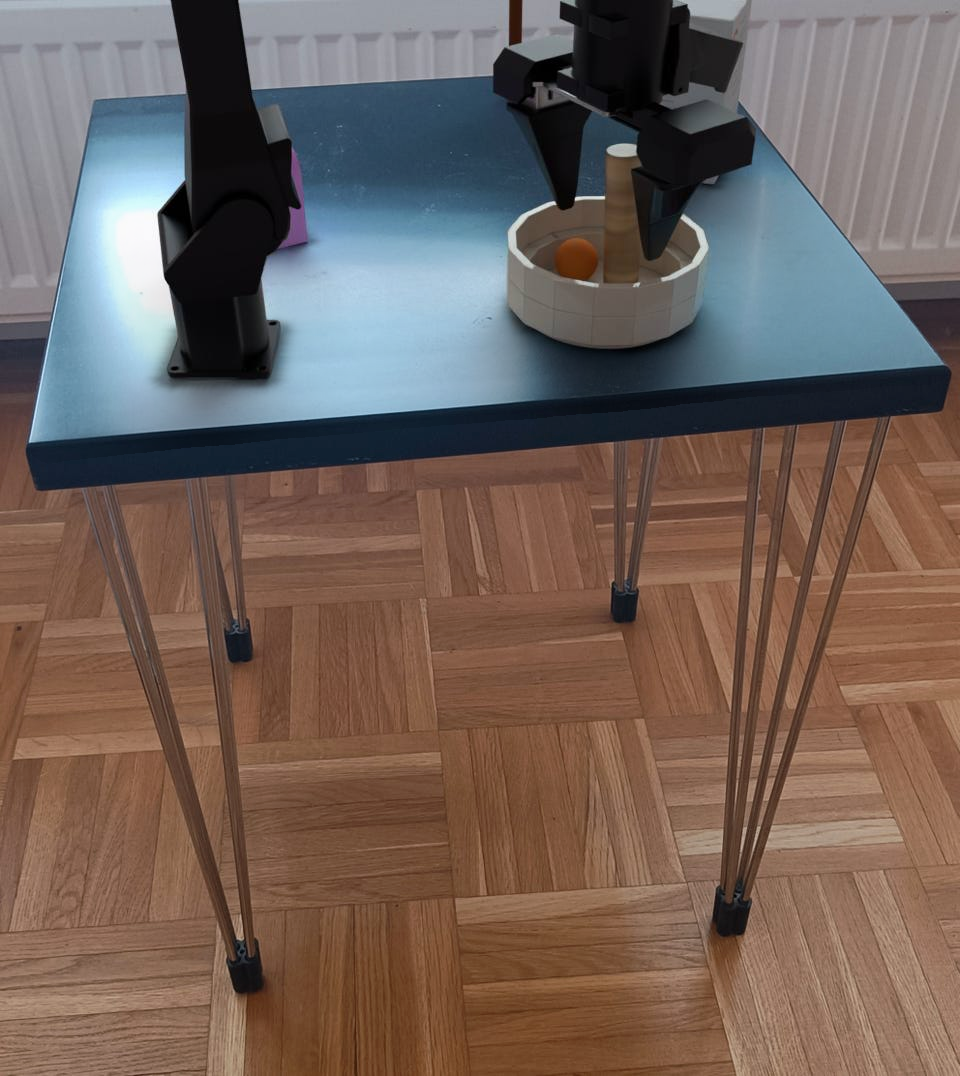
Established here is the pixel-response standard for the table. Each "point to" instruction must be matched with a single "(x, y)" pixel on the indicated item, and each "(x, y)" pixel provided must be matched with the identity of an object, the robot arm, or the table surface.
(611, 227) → the stirring stick
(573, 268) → the ball
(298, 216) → the bracket
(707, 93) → the small box
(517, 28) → the magnifying glass
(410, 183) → the table surface
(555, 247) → the bowl
